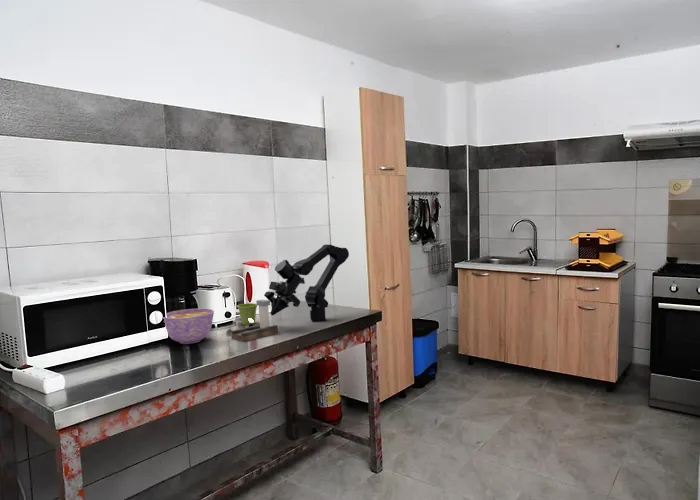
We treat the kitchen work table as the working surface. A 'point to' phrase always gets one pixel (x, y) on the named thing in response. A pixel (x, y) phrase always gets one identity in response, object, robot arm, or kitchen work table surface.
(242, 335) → the rail
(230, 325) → the kitchen work table surface
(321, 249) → the robot arm
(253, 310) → the plant pot
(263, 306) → the fader tab
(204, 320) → the bowl of food
